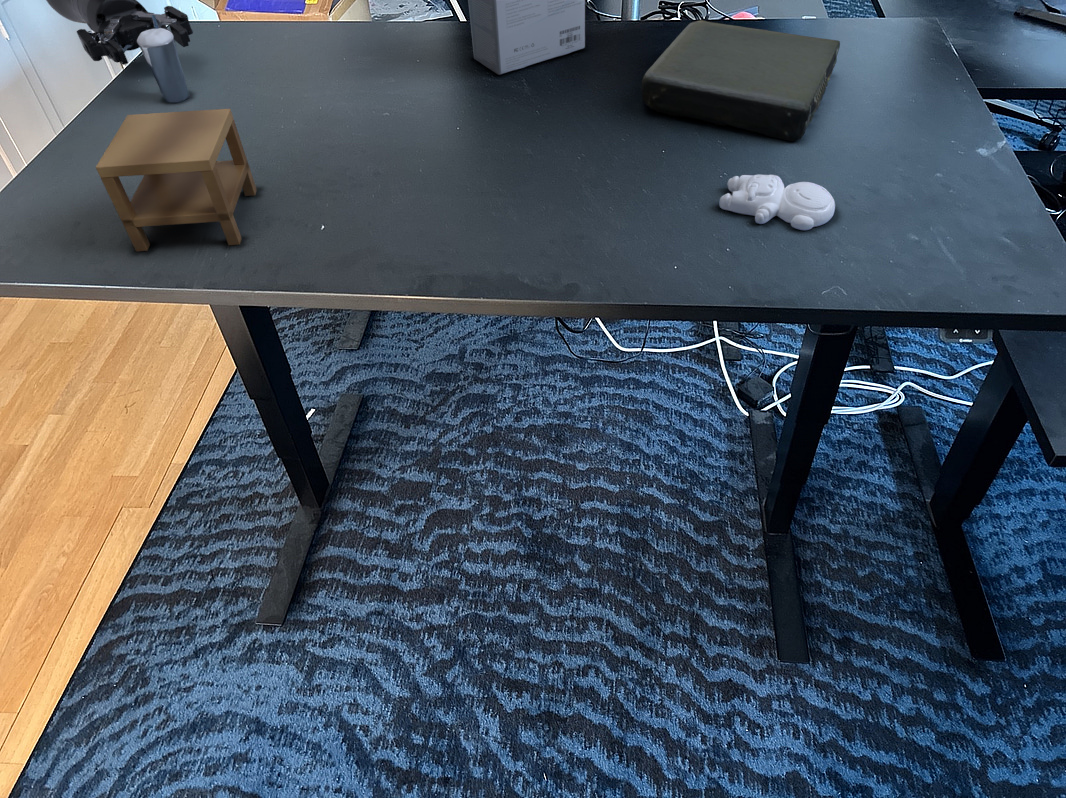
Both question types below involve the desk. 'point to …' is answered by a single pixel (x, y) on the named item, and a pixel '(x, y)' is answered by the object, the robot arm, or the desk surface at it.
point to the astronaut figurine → (779, 200)
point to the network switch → (742, 78)
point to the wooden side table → (177, 171)
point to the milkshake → (164, 62)
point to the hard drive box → (525, 31)
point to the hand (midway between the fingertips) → (154, 47)
